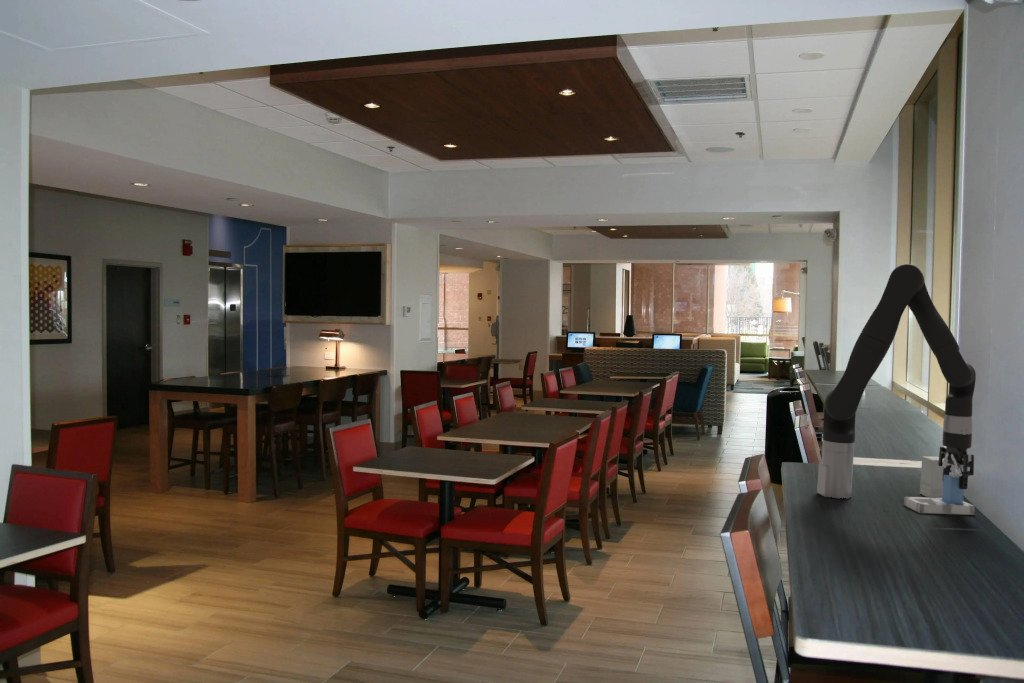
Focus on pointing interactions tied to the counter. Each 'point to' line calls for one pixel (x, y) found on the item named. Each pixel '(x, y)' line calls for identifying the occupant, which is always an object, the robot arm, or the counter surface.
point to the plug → (952, 489)
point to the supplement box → (932, 477)
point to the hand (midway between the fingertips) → (954, 485)
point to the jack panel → (937, 506)
